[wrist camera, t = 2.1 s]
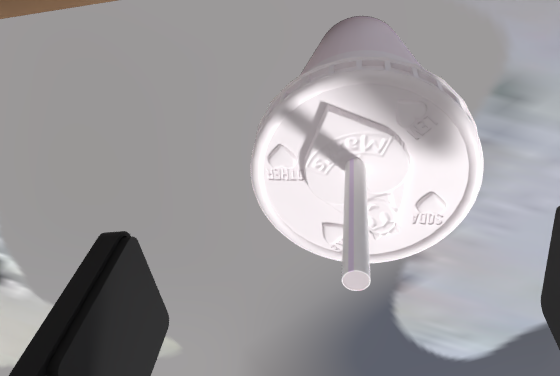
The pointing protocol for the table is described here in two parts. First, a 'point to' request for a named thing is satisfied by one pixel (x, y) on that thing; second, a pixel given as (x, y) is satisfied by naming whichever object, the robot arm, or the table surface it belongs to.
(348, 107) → the smoothie
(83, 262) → the robot arm
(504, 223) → the table surface
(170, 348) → the table surface
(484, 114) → the table surface
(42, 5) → the wooden divided tray
